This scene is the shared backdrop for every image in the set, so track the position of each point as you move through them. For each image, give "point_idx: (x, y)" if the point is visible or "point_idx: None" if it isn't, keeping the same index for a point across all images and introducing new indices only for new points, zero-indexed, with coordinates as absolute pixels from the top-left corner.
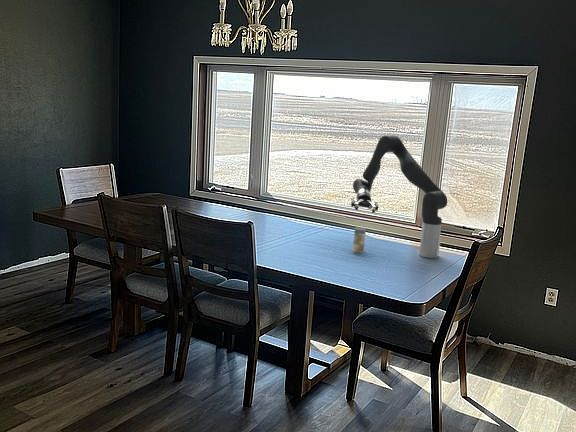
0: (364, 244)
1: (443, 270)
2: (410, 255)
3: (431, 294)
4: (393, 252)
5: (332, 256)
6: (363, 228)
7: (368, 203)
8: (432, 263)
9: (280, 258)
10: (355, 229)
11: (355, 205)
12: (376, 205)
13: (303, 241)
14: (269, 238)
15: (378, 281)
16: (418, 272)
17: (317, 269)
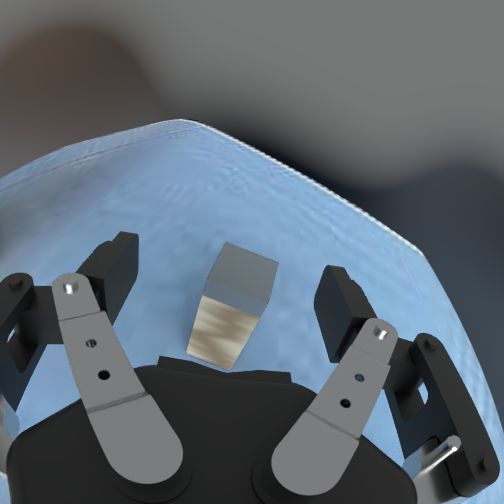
0: (190, 336)
1: (37, 174)
2: None
3: (153, 125)
4: None
5: None
6: (224, 274)
7: (139, 376)
8: (16, 209)
9: (416, 284)
10: (275, 261)
11: (368, 302)
12: (15, 299)
13: None
14: (493, 446)
15: (218, 160)
16: (105, 172)
17: (333, 220)
